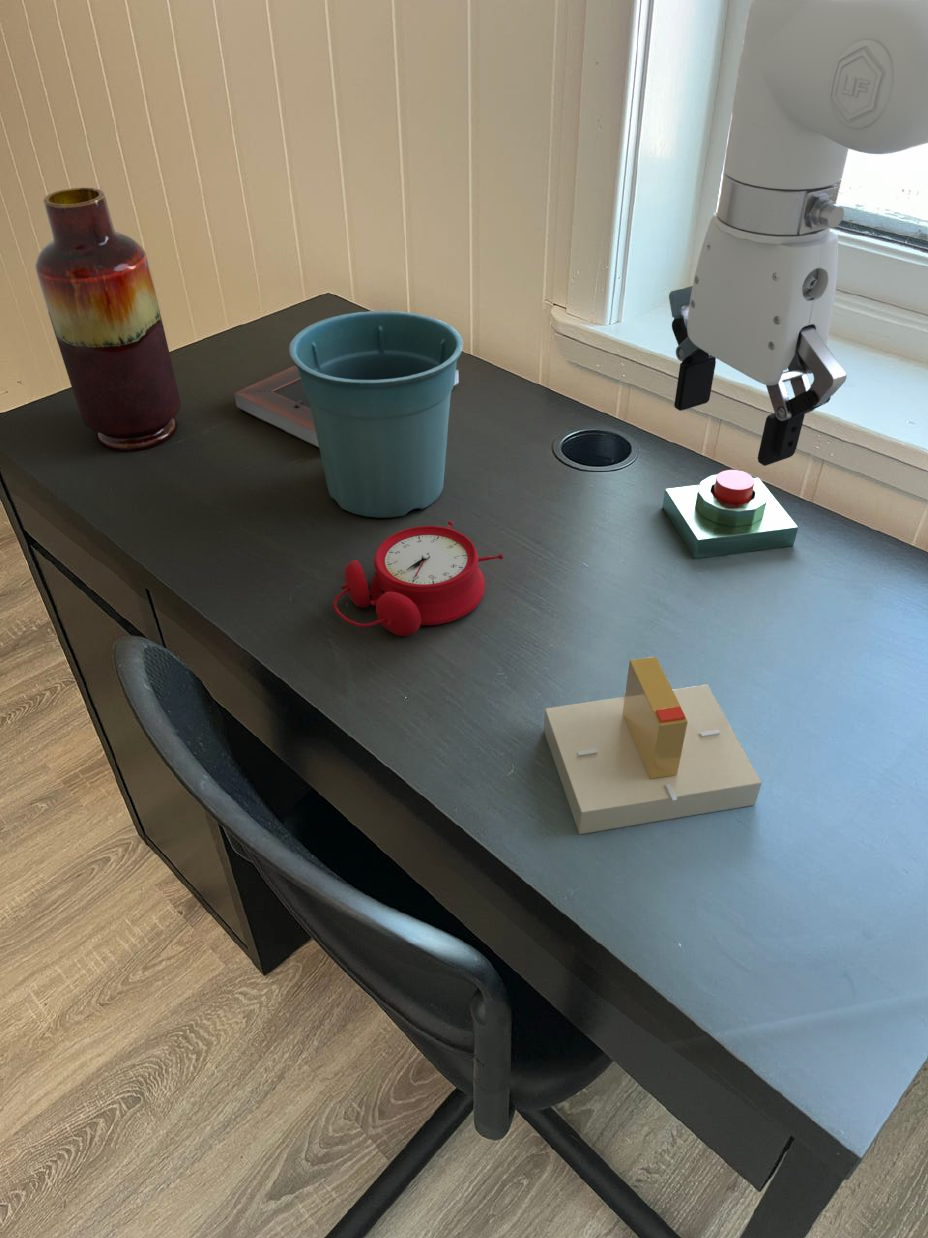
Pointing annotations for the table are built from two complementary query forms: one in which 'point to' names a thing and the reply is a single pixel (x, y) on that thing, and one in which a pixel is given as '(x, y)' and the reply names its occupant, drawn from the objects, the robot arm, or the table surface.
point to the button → (733, 487)
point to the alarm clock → (419, 579)
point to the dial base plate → (617, 778)
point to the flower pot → (380, 406)
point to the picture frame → (283, 403)
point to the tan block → (654, 717)
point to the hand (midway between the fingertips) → (731, 431)
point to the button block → (728, 520)
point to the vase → (107, 323)
